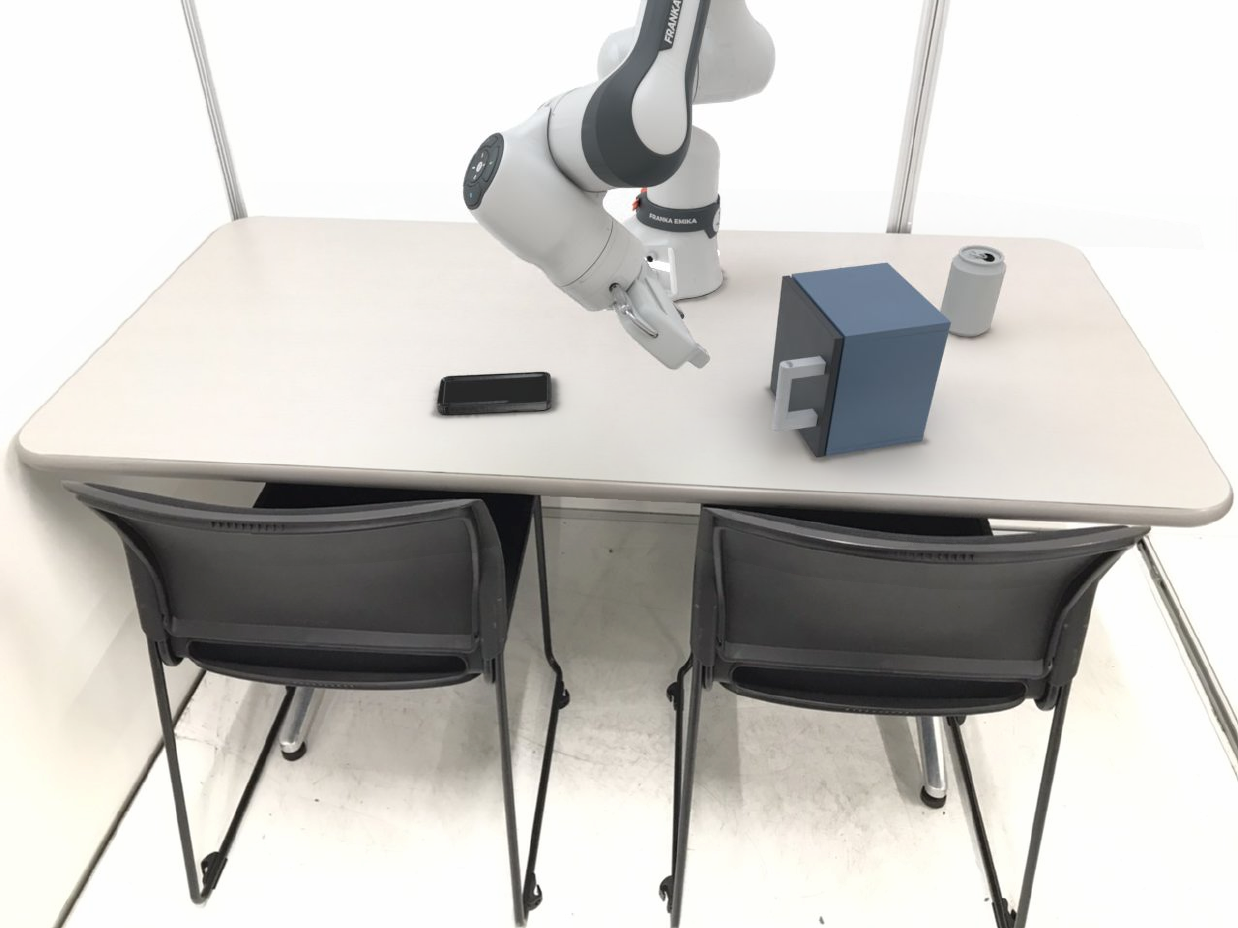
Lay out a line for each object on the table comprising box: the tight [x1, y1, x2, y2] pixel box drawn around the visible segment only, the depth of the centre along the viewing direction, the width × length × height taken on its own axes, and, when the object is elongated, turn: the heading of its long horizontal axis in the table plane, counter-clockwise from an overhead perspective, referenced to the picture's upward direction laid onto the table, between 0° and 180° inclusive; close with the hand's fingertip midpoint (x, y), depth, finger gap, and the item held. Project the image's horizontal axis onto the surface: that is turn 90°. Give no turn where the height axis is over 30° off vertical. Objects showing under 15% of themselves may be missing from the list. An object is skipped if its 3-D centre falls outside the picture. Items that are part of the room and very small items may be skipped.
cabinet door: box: [769, 274, 843, 458], centre depth 112 cm, size 6×16×17 cm, turn 13°
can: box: [939, 244, 1007, 338], centre depth 133 cm, size 8×8×12 cm
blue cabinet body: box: [791, 262, 951, 457], centre depth 114 cm, size 13×16×17 cm
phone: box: [436, 371, 552, 415], centre depth 123 cm, size 8×1×15 cm
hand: (691, 338), depth 99 cm, fingers open, 8 cm apart
